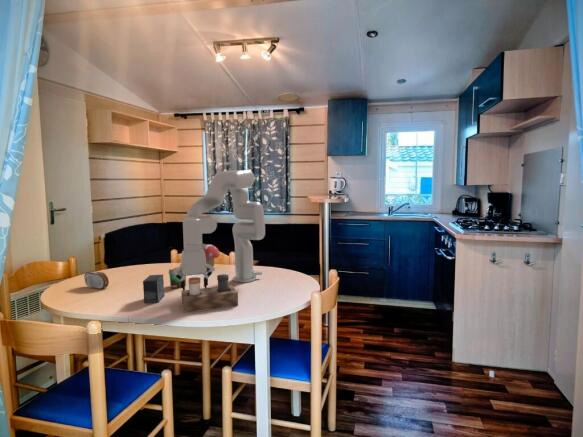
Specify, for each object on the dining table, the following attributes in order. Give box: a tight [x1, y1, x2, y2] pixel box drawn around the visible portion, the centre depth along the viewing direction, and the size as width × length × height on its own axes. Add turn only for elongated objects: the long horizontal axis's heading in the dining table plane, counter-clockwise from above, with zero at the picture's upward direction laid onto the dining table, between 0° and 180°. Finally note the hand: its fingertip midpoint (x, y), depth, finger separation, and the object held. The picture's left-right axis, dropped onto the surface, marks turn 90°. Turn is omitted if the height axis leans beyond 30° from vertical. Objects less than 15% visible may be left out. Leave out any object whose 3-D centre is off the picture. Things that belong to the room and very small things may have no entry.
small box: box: [142, 274, 165, 304], centre depth 163 cm, size 11×6×10 cm, turn 5°
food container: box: [168, 263, 187, 290], centre depth 185 cm, size 12×6×10 cm, turn 168°
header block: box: [181, 284, 239, 313], centre depth 156 cm, size 22×12×6 cm, turn 111°
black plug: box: [216, 273, 230, 292], centre depth 158 cm, size 5×5×12 cm
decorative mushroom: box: [203, 244, 221, 270], centre depth 222 cm, size 13×13×15 cm
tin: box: [83, 270, 110, 290], centre depth 183 cm, size 15×3×8 cm, turn 65°
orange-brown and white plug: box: [187, 276, 201, 296], centre depth 153 cm, size 5×5×12 cm
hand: (194, 288), depth 153 cm, fingers open, 8 cm apart
